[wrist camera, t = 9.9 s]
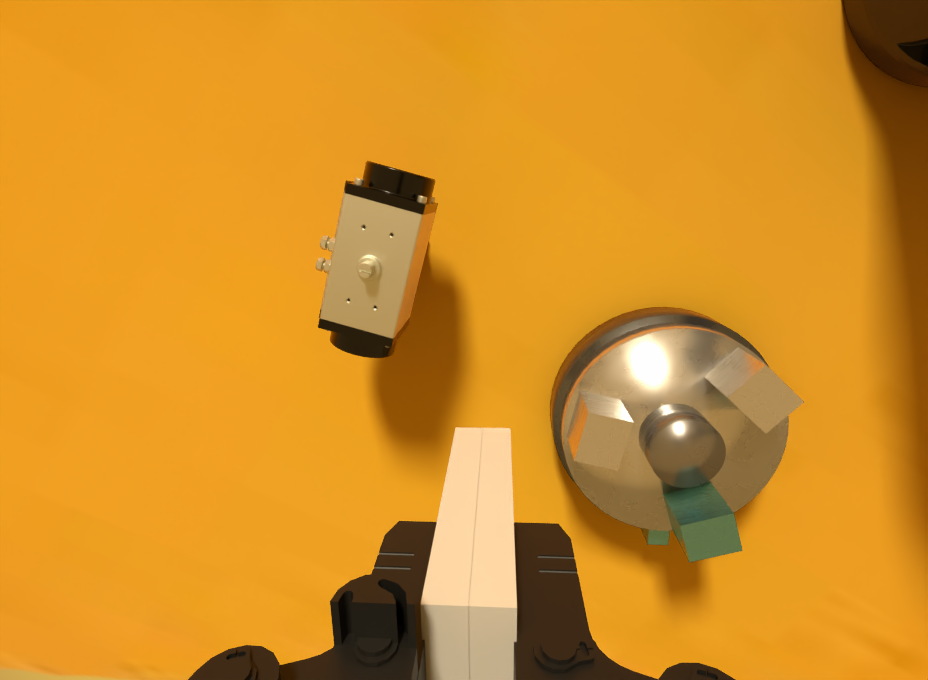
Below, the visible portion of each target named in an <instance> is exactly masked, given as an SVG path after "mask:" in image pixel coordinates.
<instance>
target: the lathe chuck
mask: <svg viewBox="0 0 928 680" xmlns="http://www.w3.org/2000/svg"><path fill="white" fill-rule="evenodd" d="M802 403H804V401H803V400H802V399H801V398H800V397H799V396H798V395H796V394H795V393H794V392H793V391H792V390H791V389H790V388H789V387H788V386H787V385H786V384H785V383H784V382H783V381H782V380H781V379H780V378H779V377H778V376H777V375H776V374H775V373H774V372H773V371H772V370H771V369H770V368H769V367H768V366H767V365H766V364H765V363H764V362H763V360H762V359H761V358H759V357H758V356H757V355H756V354H755V353H753V352H752V351H751V350H750V349H748V348H746V347H745V346H743V345H742V344H740V343H738V342H737V341H735V340H733V339H732V338H730V337H729V336H727V335H725V334H723V333H721V332H718V331H716V330H714V329H711V328H707V327H704V326H700V325H695V324H688V323H662V324H654V325H649V326H645V327H641V328H638V329H635V330H632V331H629V332H627V333H625V334H623V335H621V336H619V337H617V338H615V339H613V340H611V341H610V342H608V343H607V344H605V345H604V346H602V347H601V348H600V349H599V350H598V351H596V352H595V353H594V354H593V355H592V356H591V357H590V358H589V359H588V360H587V361H586V362H585V363H584V364H583V365H582V367H581V368H580V369H579V371H578V372H577V374H576V375H575V377H574V378H573V380H572V382H571V384H570V386H569V388H568V390H567V393H566V396H565V398H564V401H563V406H562V411H561V419H560V432H561V441H562V445H563V450H564V454H565V458H566V462H567V465H568V467H569V470H570V473H571V475H572V477H573V479H574V480H575V482H576V484H577V486H578V487H579V488H580V490H581V491H582V492H583V494H584V495H585V496H586V497H587V498H588V499H589V500H590V501H591V502H592V503H593V504H594V505H595V506H597V507H598V508H599V509H601V510H602V511H603V512H604V513H606V514H608V515H610V516H611V517H613V518H615V519H617V520H619V521H622V522H624V523H626V524H629V525H632V526H636V527H639V528H644V529H650V530H659V531H674V533H675V535H676V537H677V539H678V541H679V543H680V545H681V547H682V549H683V551H684V553H685V555H686V557H687V559H688V560H689V562H693V561H698V560H702V559H707V558H711V557H716V556H720V555H725V554H729V553H734V552H738V551H742V546H741V542H740V537H739V533H738V529H737V524H736V520H735V516H734V512H736V511H737V510H739V509H740V508H742V507H743V506H745V505H746V504H747V503H749V502H750V501H751V500H752V499H753V498H754V497H755V496H756V495H757V494H758V493H759V492H760V491H761V490H762V489H763V488H764V487H765V485H766V484H767V483H768V482H769V480H770V479H771V477H772V476H773V474H774V473H775V471H776V469H777V467H778V465H779V463H780V461H781V459H782V456H783V453H784V450H785V447H786V442H787V436H788V422H789V419H788V415H789V414H790V413H792V412H793V411H794V410H795V409H796V408H798V407H799V406H800V405H801V404H802Z"/></svg>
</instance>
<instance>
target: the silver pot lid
mask: <svg viewBox="0 0 928 680" xmlns="http://www.w3.org/2000/svg"><path fill="white" fill-rule="evenodd" d="M662 323H688V324H695V325H700V326H704V327H707V328H711V329H714V330H716V331H718V332H721V333H723V334H725V335H727V336H729V337H730V338H732V339H733V340H735V341H737V342H738V343H740V344H742V345H743V346H745V347H746V348H748V349H750V350H751V351H752V352H753V353H755V354H756V355H757V356H758V357H759V358H761V359H762V360H763V362H764V363H765V364H766V365H767V363H766V361H765V360H764V359H763V357H762V356H761V355H760V353H759V352H758V351H757V350H756V349H755V348H754V347H753V346H752V345H751V344H750V343H749V342H748V341H747V340H745V339H744V338H743V337H742V336H740V335H739V334H738V333H736V332H734V331H732V330H731V329H729V328H727V327H726V326H724V325H722V324H720V323H719V322H717V321H715V320H713V319H711V318H709V317H707V316H705V315H702V314H699V313H697V312H694V311H689V310H685V309H680V308H671V307H652V308H646V309H639V310H635V311H631V312H628V313H624V314H622V315H619V316H617V317H614V318H612V319H610V320H608V321H606V322H604V323H603V324H601V325H599V326H598V327H596V328H595V329H593V330H592V331H591V332H589V333H588V334H587V335H586V336H585V337H584V338H583V339H581V340H580V341H579V342H578V343H577V344H576V345H575V347H574V348H573V349H572V350H571V352H570V353H569V354H568V356H567V357H566V359H565V360H564V362H563V364H562V365H561V367H560V369H559V372H558V374H557V376H556V378H555V382H554V385H553V389H552V394H551V401H550V418H551V425H552V431H553V435H554V440H555V444H556V447H557V451H558V454H559V457H560V459H561V461H562V464H563V466H564V468H565V469H566V471H567V473H568V474H569V476H570V477H571V479H572V480H573V481H574V482H575V480H574V479H573V477H572V475H571V473H570V470H569V467H568V465H567V462H566V458H565V454H564V450H563V445H562V441H561V432H560V419H561V411H562V406H563V401H564V398H565V396H566V393H567V390H568V388H569V386H570V384H571V382H572V380H573V378H574V377H575V375H576V374H577V372H578V371H579V369H580V368H581V367H582V365H583V364H584V363H585V362H586V361H587V360H588V359H589V358H590V357H591V356H592V355H593V354H594V353H595V352H596V351H598V350H599V349H600V348H601V347H602V346H604V345H605V344H607V343H608V342H610V341H611V340H613V339H615V338H617V337H619V336H621V335H623V334H625V333H627V332H629V331H632V330H635V329H638V328H641V327H645V326H649V325H654V324H662ZM767 366H768V365H767ZM768 367H769V366H768ZM575 483H576V482H575ZM576 485H577V484H576ZM641 530H642V532H643V534H644V537H645V539H646V541H647V544H651V545H668V542H669V531H659V530H650V529H644V528H641Z"/></svg>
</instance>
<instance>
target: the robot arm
mask: <svg viewBox="0 0 928 680" xmlns="http://www.w3.org/2000/svg"><path fill="white" fill-rule="evenodd" d="M844 5H845V11H846V16H847V19H848V23H849V26H850V28H851V31H852V33H853V35H854V37H855V39H856V41H857V43H858V45H859V46H860V48H861V49H862V51H863V52H864V53H865V55H866V56H867V57H868V58H869V59H870V60H871V61H872V62H873V63H874V64H875V65H876V66H877V67H879V68H880V69H881V70H883V71H884V72H886V73H887V74H889V75H890V76H892V77H894V78H896V79H899V80H901V81H904V82H907V83H910V84H913V85H918V86H925V87H928V0H844ZM330 605H331V615H332V626H333V636H334V647H333V648H332V649H330V650H328V651H326V652H324V653H323V654H321V655H318V656H315V657H311V658H308V659H305V660H300V661H296V662H292V663H288V664H283V665H279V662H278V660H277V658H276V657H275V655H274V653H273V652H271V651H269V650H267V649H266V648H264V647H262V646H251V645H245V646H241V647H236V648H232V649H228V650H226V651H224V652H222V653H220V654H218V655H216V656H214V657H212V658H211V659H210V660H209V661H207V662H206V663H205V664H204V665H203V666H201V667H200V668H199V669H198V670H197V671H196V672H195V673H194V674H193V675H192V676H191V677H190V678H189V679H188V680H658V679H655V678H652V677H649V676H646V675H643V674H640V673H637V672H634V671H632V670H629V669H627V668H624V667H622V666H620V665H619V664H617V663H615V662H614V661H612V660H611V659H609V658H608V657H607V656H606V655H605V654H604V653H603V652H602V651H601V650H600V649H599V648H598V647H597V644H596V642H595V641H594V640H593V639H592V636H591V633H590V631H589V627H588V622H587V617H586V612H585V607H584V602H583V597H582V592H581V587H580V582H579V577H578V574H577V568H576V563H575V559H574V553H573V548H572V543H571V539H570V537H569V536H568V535H567V534H566V533H565V531H564V530H563V529H562V528H561V527H560V525H559V524H549V523H514V514H513V487H512V461H511V434H510V428H456V429H455V434H454V439H453V444H452V449H451V454H450V459H449V464H448V469H447V474H446V479H445V484H444V489H443V494H442V499H441V504H440V509H439V514H438V519H437V522H414V521H399V522H398V523H397V524H396V525H395V526H394V527H393V528H392V529H391V530H390V531H389V532H388V533H387V534H386V535H385V536H384V539H383V542H382V545H381V548H380V551H379V555H378V557H377V560H376V563H375V565H374V569H373V571H372V574H371V575H365V576H362V577H359V578H357V579H354V580H351V581H350V582H348V583H347V584H345V585H344V586H343V587H341V588H340V589H339V590H338V591H337V592H336V594H335V595H334V597H333V598H332V599H331V601H330ZM659 680H735V679H733V678H732V677H730V676H728V675H727V674H725V673H723V672H722V671H720V670H718V669H716V668H713V667H710V666H707V665H703V664H700V663H679V664H677V665H674V666H671V667H669V668H667V669H666V670H665V672H664V673H663V674H662V675H661V677H660V678H659Z"/></svg>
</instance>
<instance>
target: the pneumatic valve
mask: <svg viewBox="0 0 928 680" xmlns="http://www.w3.org/2000/svg"><path fill="white" fill-rule="evenodd" d="M434 185H435V180H434V179H431V178H428V177H424V176H420V175H417V174H413V173H410V172H406V171H403V170H399V169H395V168H392V167H388V166H385V165H381V164H377V163H374V162H370V161H367V162H366V165H365V170H364V175H363V179H359V178H355V180H354V181H346V183H345V188H344V190H345V191H344V193H343V198H342V203H341V208H340V214H339V219H338V224H337V229H336V234H335V238H331V239H330V238H329V236H323V237H322V239H321V242H320V248H322V249H324V250H326V249H327V248H328V250H329V251H331V252H332V254H331V259H330V260H329V259H328V260H326V261H325V258H322V257H320V258H318V260H317V263H316V269H317V270H318V271H321V272H322V271H323V269H324V272H326V273H328V274H327V279H326V284H325V290H324V295H323V300H322V305H321V310H320V315H319V318H320V319H319V324H318V328H322V329H325V330H327V331H331V336H330V341H331V343H332V344H333V345H334V346H335V347H337V348H338V349H340V350H342V351H345V352H347V353H350V354H354V355H357V356H362V357H369V358H384V357H389V356H391V355H392V354H393V353H394V350H395V346H396V342H397V339H398V338H399V336H400V335H401V334H402V332H403V331H404V330H405V328H406V327H407V325H408V323H409V319H410V315H411V311H412V307H413V303H414V299H415V294H416V290H417V286H418V282H419V278H420V274H421V270H422V266H423V262H424V258H425V254H426V250H427V246H428V242H429V238H430V234H431V230H432V225H433V221H434V217H435V213H436V209H437V205H438V203H435V202H434V201H435V197H432V193H433V189H434Z"/></svg>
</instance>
